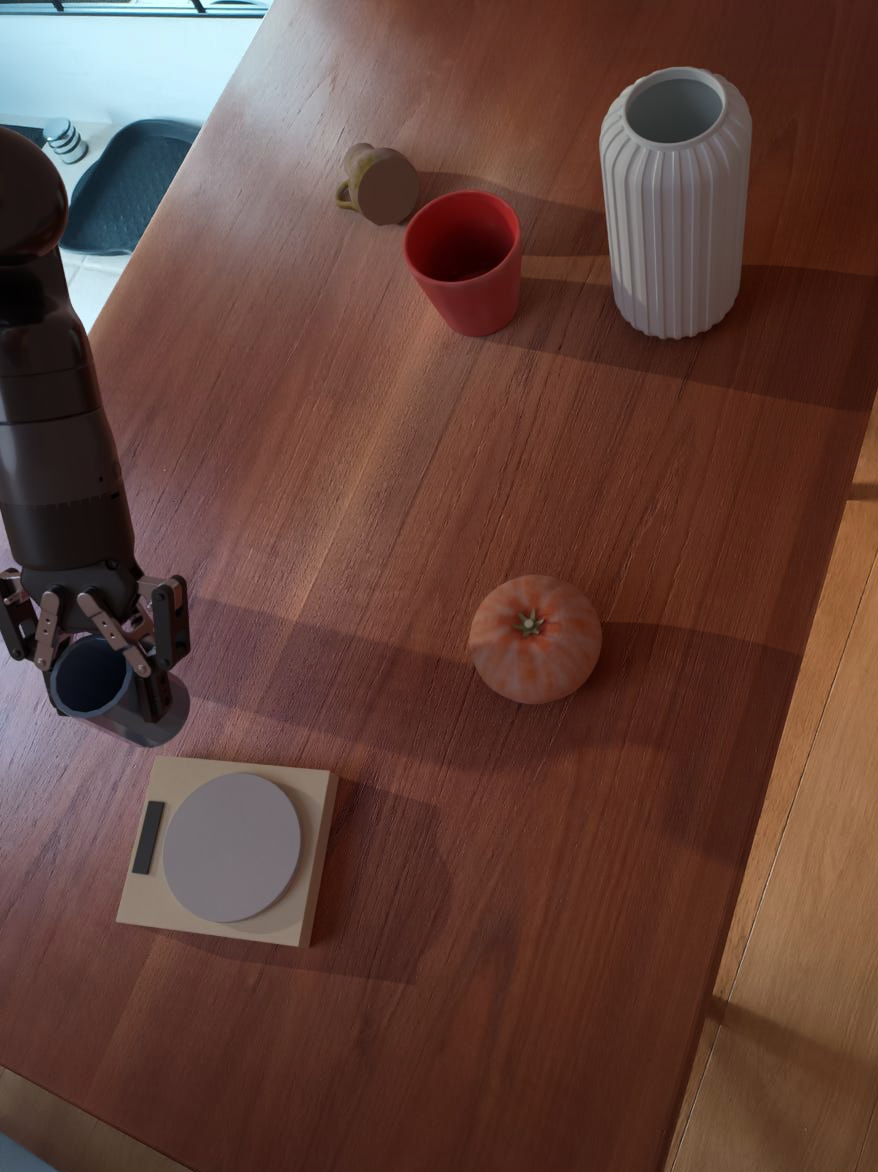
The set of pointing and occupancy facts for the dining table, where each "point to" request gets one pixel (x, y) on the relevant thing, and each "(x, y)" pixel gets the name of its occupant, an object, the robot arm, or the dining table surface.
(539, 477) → the dining table surface
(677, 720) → the dining table surface
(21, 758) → the dining table surface
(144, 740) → the ceramic cup
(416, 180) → the mug
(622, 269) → the vase
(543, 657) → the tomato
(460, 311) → the flower pot
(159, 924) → the scale
